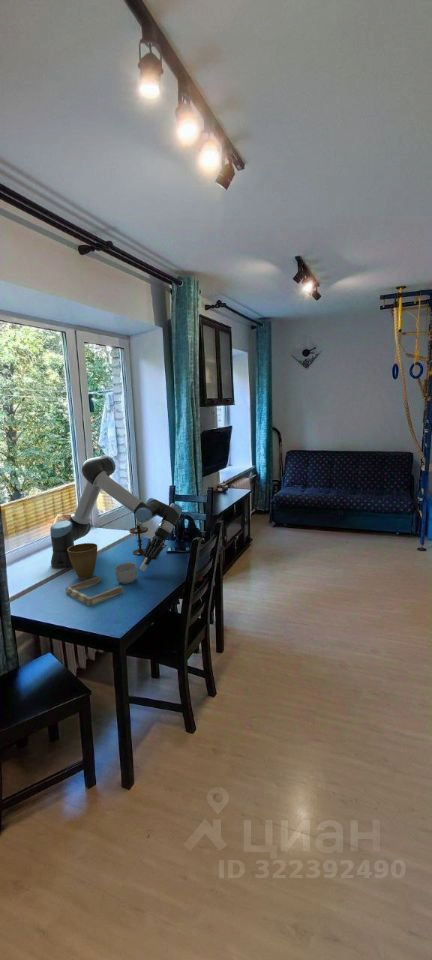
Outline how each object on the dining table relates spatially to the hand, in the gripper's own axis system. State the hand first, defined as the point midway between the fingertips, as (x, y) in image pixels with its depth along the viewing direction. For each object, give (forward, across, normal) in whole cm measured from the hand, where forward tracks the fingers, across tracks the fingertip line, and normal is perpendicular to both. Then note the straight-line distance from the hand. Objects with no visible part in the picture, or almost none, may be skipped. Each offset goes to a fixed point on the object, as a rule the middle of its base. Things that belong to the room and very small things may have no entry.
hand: (141, 569), depth 231 cm
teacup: (+8, +1, +3) cm, 9 cm away
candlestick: (-12, +29, -18) cm, 36 cm away
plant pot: (+16, +23, +11) cm, 30 cm away
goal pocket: (+21, +2, +17) cm, 27 cm away
